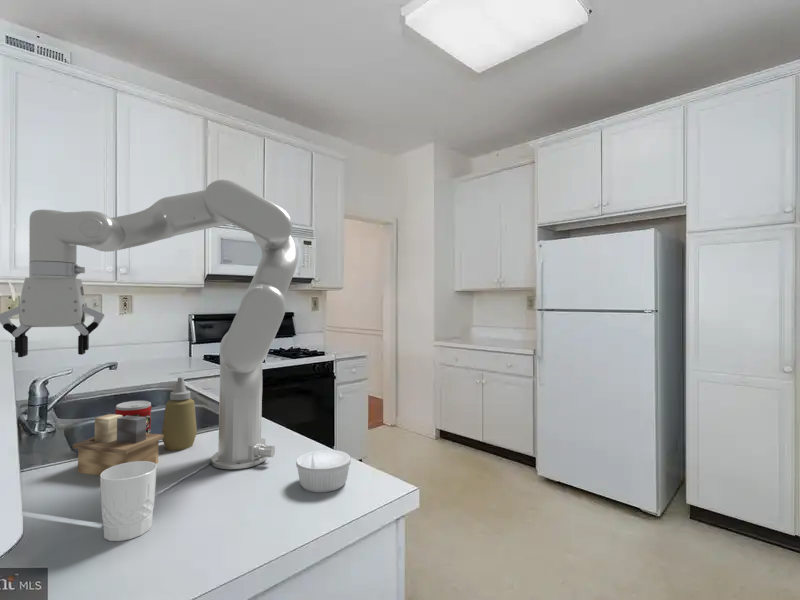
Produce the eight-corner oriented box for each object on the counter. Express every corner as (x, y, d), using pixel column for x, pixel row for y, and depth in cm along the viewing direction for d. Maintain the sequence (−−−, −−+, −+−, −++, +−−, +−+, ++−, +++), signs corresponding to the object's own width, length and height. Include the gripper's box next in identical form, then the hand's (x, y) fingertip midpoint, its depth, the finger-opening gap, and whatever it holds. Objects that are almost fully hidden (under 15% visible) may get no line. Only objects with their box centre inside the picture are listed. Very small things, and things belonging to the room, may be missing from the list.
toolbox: (158, 465, 98) (158, 438, 98) (125, 481, 89) (125, 452, 89) (114, 460, 100) (114, 434, 100) (77, 475, 91) (78, 447, 91)
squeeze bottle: (203, 447, 110) (204, 377, 110) (172, 456, 103) (173, 382, 103) (185, 441, 114) (186, 373, 114) (154, 449, 107) (156, 378, 107)
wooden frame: (163, 438, 98) (163, 412, 98) (125, 453, 88) (126, 425, 88) (114, 433, 101) (115, 408, 101) (72, 448, 91) (73, 420, 91)
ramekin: (285, 482, 90) (286, 457, 90) (329, 468, 98) (329, 445, 98) (316, 501, 82) (316, 473, 82) (360, 484, 90) (361, 459, 90)
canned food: (134, 453, 104) (135, 408, 105) (106, 450, 106) (107, 406, 106) (157, 443, 112) (158, 401, 112) (131, 440, 114) (132, 399, 114)
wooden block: (121, 463, 96) (122, 415, 96) (107, 469, 93) (108, 419, 93) (108, 462, 97) (109, 414, 97) (93, 468, 94) (94, 418, 94)
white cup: (93, 548, 65) (94, 483, 65) (105, 523, 72) (106, 464, 72) (152, 537, 68) (153, 475, 68) (158, 514, 76) (159, 458, 76)
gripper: (107, 273, 95) (106, 351, 95) (5, 271, 87) (5, 355, 87) (100, 272, 88) (100, 355, 88) (-10, 269, 80) (-11, 360, 80)
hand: (53, 355), depth 88 cm, fingers open, 9 cm apart
